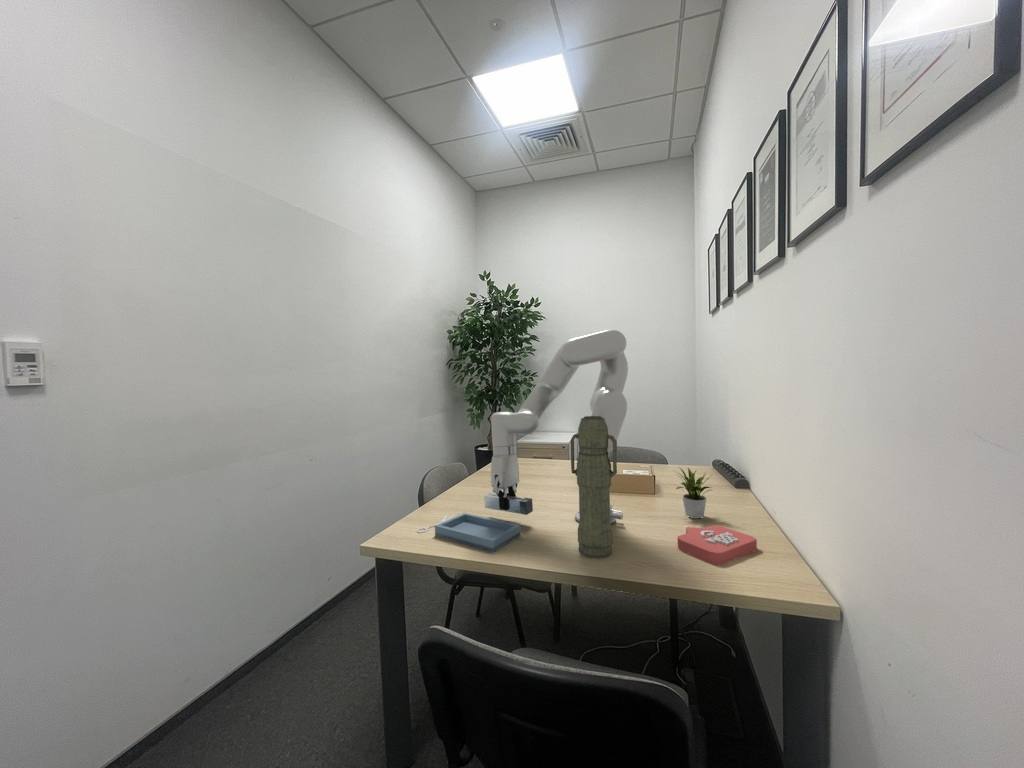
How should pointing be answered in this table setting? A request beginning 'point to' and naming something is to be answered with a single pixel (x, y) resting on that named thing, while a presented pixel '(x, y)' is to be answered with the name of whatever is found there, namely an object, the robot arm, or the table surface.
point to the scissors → (435, 524)
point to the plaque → (716, 544)
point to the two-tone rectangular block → (510, 504)
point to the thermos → (594, 486)
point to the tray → (478, 531)
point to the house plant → (693, 495)
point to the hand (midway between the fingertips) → (507, 506)
